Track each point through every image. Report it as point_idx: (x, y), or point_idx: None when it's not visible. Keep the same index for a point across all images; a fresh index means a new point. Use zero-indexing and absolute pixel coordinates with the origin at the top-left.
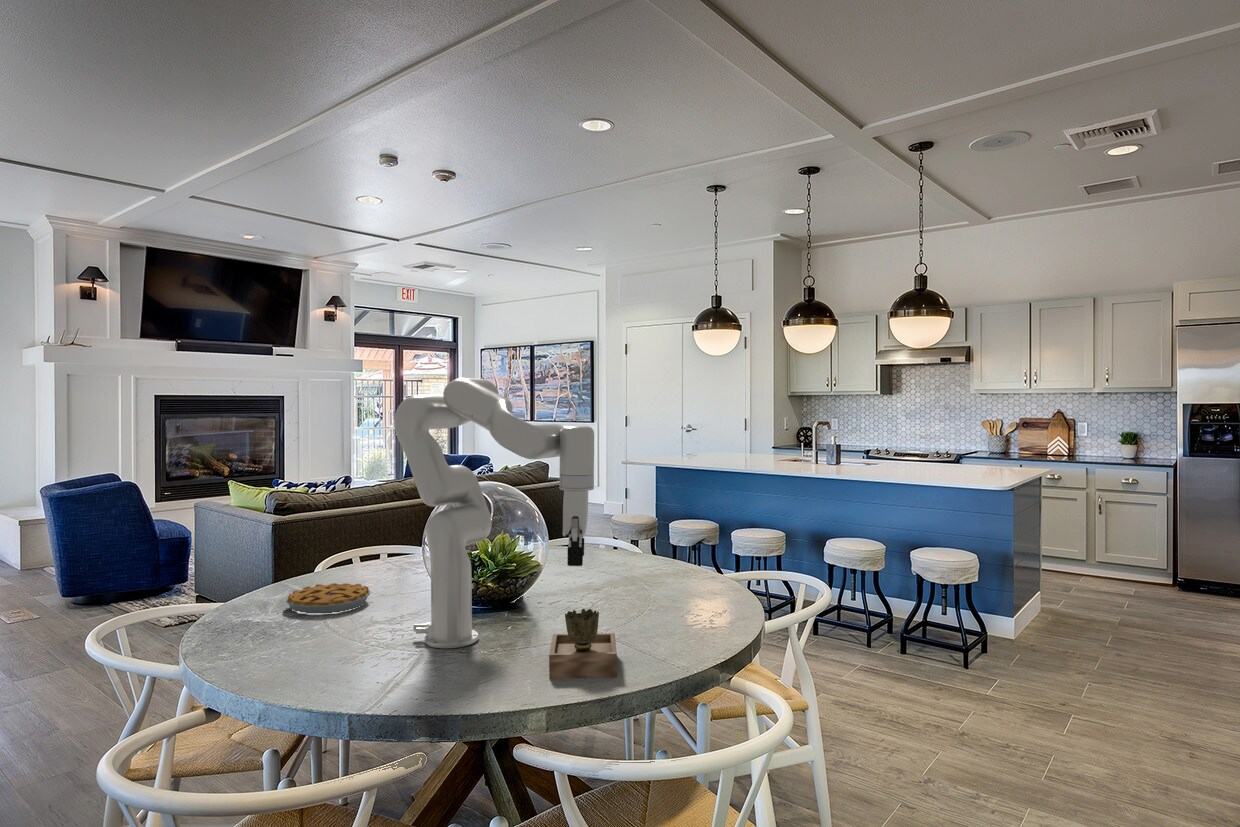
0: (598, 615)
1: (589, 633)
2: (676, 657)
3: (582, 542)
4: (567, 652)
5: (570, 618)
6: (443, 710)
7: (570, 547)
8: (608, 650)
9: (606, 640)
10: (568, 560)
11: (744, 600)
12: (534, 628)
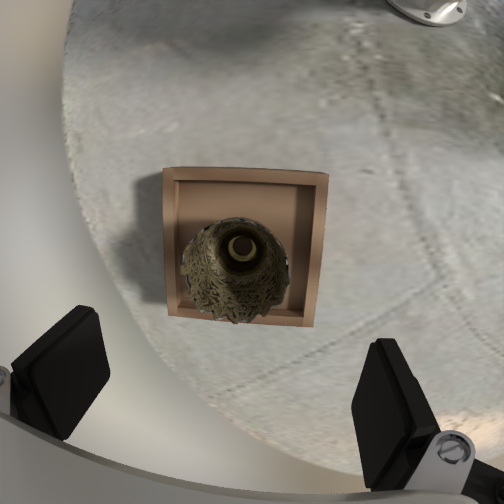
0: (221, 319)
1: (202, 275)
2: (275, 395)
3: (365, 467)
4: (230, 208)
5: (198, 236)
6: (77, 28)
7: (3, 376)
8: None
9: (303, 302)
10: (65, 321)
11: None
12: (490, 146)
